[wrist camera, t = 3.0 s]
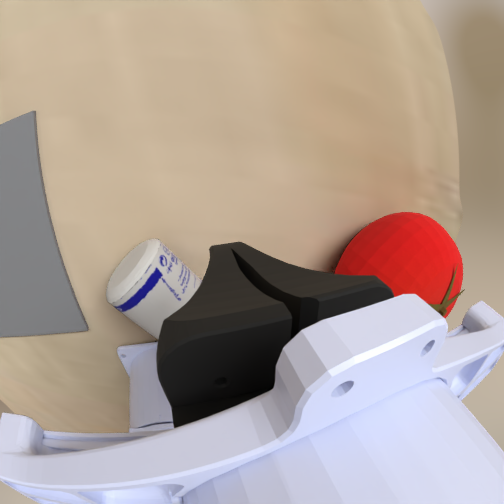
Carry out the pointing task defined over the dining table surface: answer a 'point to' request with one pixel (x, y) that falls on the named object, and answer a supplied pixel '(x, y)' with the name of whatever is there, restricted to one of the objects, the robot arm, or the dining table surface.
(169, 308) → the beverage can
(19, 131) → the mat
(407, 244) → the tomato
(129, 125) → the dining table surface
